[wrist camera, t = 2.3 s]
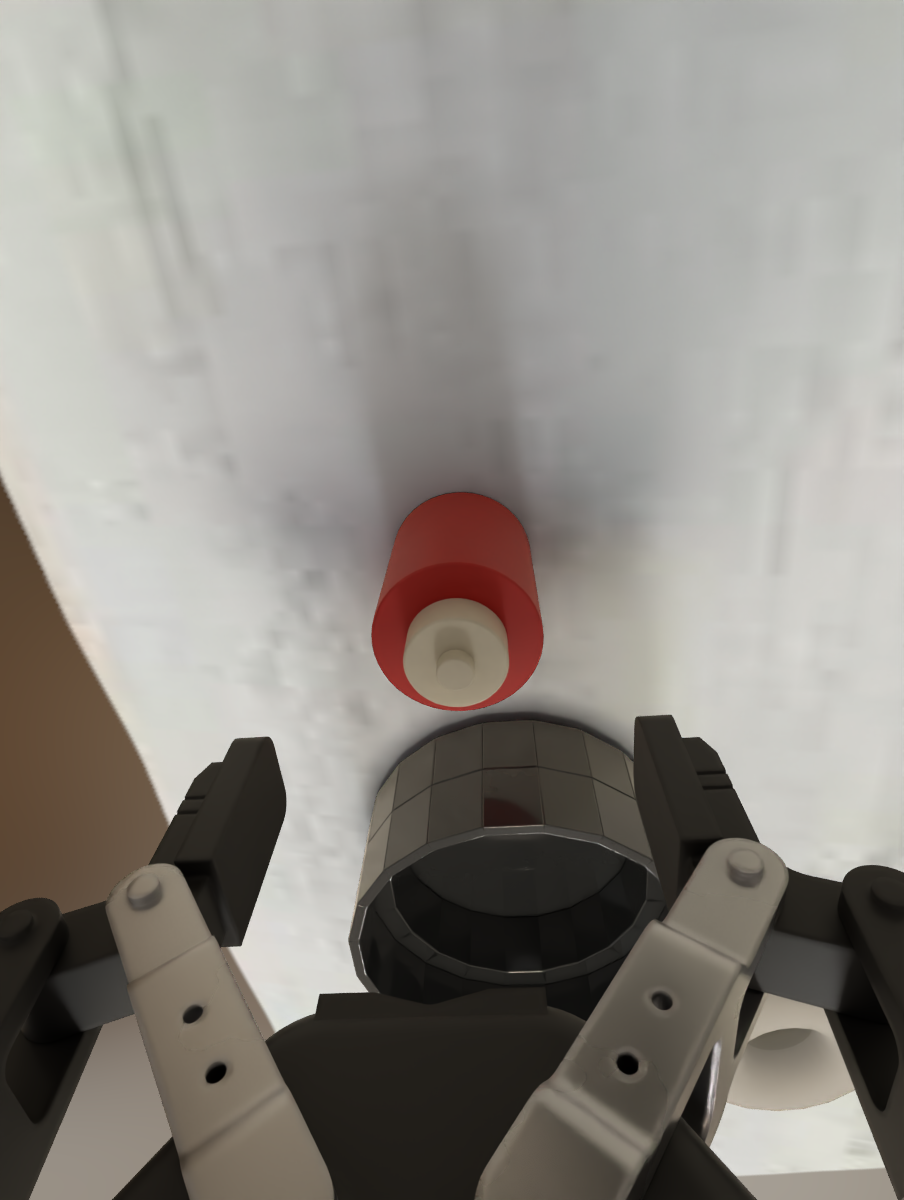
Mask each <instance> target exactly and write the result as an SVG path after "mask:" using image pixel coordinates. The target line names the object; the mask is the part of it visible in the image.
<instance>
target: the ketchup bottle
mask: <svg viewBox="0 0 904 1200" xmlns="http://www.w3.org/2000/svg"><path fill="white" fill-rule="evenodd" d="M371 637H372V646H373V650H374V655H375V657H376V660H377V662H378V664H379V666H380V668H381V670H382V671H383V673H384V674H385V676H386V677H387V678H388V680H389V681H390V682H391V683H392V684H393V685H394V686H395V687H396V688H397V689H398V690H400V691H401V692H402V693H404V694H405V695H407V696H408V697H410V698H411V699H413V700H415V701H417V702H419V703H422V704H424V705H427V706H430V707H433V708H438V709H443V710H451V711H466V710H475V709H480V708H484V707H487V706H490V705H493V704H496V703H498V702H500V701H502V700H504V699H506V698H507V697H509V696H511V695H512V694H514V693H515V692H516V691H517V690H518V689H520V688H521V687H522V686H523V685H524V684H525V683H526V681H527V680H528V679H529V678H530V676H531V675H532V673H533V672H534V670H535V668H536V666H537V665H538V662H539V659H540V657H541V654H542V648H543V638H544V634H543V625H542V619H541V613H540V607H539V601H538V595H537V589H536V583H535V576H534V570H533V564H532V558H531V552H530V546H529V542H528V538H527V535H526V533H525V531H524V528H523V527H522V525H521V523H520V522H519V520H518V519H517V518H516V517H515V516H514V514H513V513H511V512H510V511H509V510H508V509H507V508H506V507H504V506H503V505H502V504H500V503H498V502H497V501H495V500H493V499H491V498H488V497H485V496H483V495H478V494H474V493H466V492H459V493H449V494H444V495H440V496H437V497H434V498H432V499H430V500H428V501H426V502H424V503H422V504H421V505H419V506H418V507H417V508H416V509H414V510H413V511H412V512H411V513H410V514H409V515H408V516H407V518H406V519H405V520H404V522H403V523H402V525H401V527H400V529H399V530H398V533H397V536H396V539H395V542H394V546H393V549H392V553H391V557H390V560H389V564H388V568H387V571H386V575H385V579H384V582H383V586H382V589H381V593H380V597H379V600H378V604H377V608H376V611H375V615H374V619H373V624H372V634H371Z"/></svg>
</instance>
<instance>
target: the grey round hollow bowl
mask: <svg viewBox="0 0 904 1200" xmlns="http://www.w3.org/2000/svg"><path fill="white" fill-rule="evenodd" d="M633 766H634V763H633V762H632V761H631V760H630V759H629V758H628V756H627V755H626V754H625V753H624V752H622V751H621V750H619V749H617V748H615V747H613V746H611V745H609V744H607V743H605V742H604V741H602V740H600V739H598V738H596V737H594V736H592V735H590V734H588V733H586V732H584V731H581V730H580V729H576V728H571V727H566V726H561V725H557V724H552V723H547V722H542V721H537V720H533V721H532V720H521V721H503V722H484V723H483V724H482V723H480V724H476V725H473V726H470V727H467V728H464V729H461V730H458V731H455V732H452V733H449V734H446V735H443V736H439V737H437V739H436V738H435V739H433V740H432V741H430V742H429V743H427V744H426V745H425V746H423V747H422V748H420V749H419V750H417V751H416V752H414V753H413V754H411V755H410V756H409V757H407V758H406V759H404V760H403V761H401V763H399V764H398V766H397V767H396V768H395V770H394V771H393V773H392V774H391V775H390V777H389V778H388V779H387V781H386V782H385V784H384V785H383V786H382V788H381V789H380V790H379V792H378V794H377V796H376V800H375V804H374V808H373V813H372V817H371V821H370V825H369V831H368V836H367V841H366V847H365V852H364V858H363V863H362V868H361V874H360V879H359V884H358V890H357V895H356V901H355V906H354V911H353V917H352V922H351V928H350V933H349V938H348V942H349V946H350V950H351V954H352V958H353V962H354V967H355V971H356V975H357V977H358V978H359V980H360V981H361V982H362V984H363V985H364V986H365V988H366V989H367V990H368V992H375V993H379V994H384V995H388V996H392V997H396V998H401V999H405V1000H409V1001H413V1002H418V1003H422V1004H428V1005H432V1004H437V1003H441V1002H444V1001H448V1000H451V999H455V998H458V997H462V996H465V995H469V994H472V993H476V992H479V991H483V990H486V989H498V988H531V987H545V989H546V1000H547V1006H549V1007H553V1008H557V1009H560V1010H563V1011H566V1012H568V1013H571V1014H573V1015H575V1016H577V1017H579V1018H581V1019H583V1020H585V1021H587V1020H588V1019H589V1017H590V1015H591V1014H592V1012H593V1011H594V1009H595V1007H596V1006H597V1004H598V1003H599V1001H600V999H601V998H602V996H603V995H604V993H605V991H606V990H607V988H608V987H609V985H610V983H611V982H612V980H613V979H614V977H615V975H616V974H617V972H618V971H619V969H620V967H621V966H622V964H623V963H624V961H625V959H626V958H627V956H628V955H629V953H630V951H631V950H632V948H633V947H634V945H635V943H636V942H637V940H638V939H639V937H640V935H641V934H642V932H643V931H644V929H645V928H646V926H647V925H648V924H649V923H650V922H651V921H652V920H654V919H656V920H658V921H660V922H663V921H664V919H665V918H666V916H667V915H668V913H669V912H668V908H667V905H666V901H665V898H664V894H663V891H662V887H661V884H660V881H659V877H658V874H657V870H656V867H655V863H654V860H653V856H652V853H651V849H650V846H649V842H648V839H647V835H646V832H645V828H644V825H643V822H642V818H641V815H640V811H639V808H638V804H637V800H636V795H635V789H634V778H633Z"/></svg>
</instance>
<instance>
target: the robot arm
mask: <svg viewBox="0 0 904 1200" xmlns="http://www.w3.org/2000/svg"><path fill="white" fill-rule="evenodd" d="M633 778H634V789H635V795H636V800H637V804H638V808H639V811H640V815H641V818H642V822H643V825H644V828H645V832H646V835H647V839H648V842H649V846H650V849H651V853H652V856H653V860H654V863H655V867H656V870H657V874H658V877H659V881H660V884H661V887H662V891H663V894H664V898H665V901H666V905H667V908H668V912H669V913H668V915H667V916H666V918H665V919H664V921H663V922H660V921H658V920H656V919H654V920H652V921H651V922H650V923H649V924H648V925H647V926H646V928H645V929H644V931H643V932H642V934H641V935H640V937H639V939H638V940H637V942H636V943H635V945H634V947H633V948H632V950H631V951H630V953H629V955H628V956H627V958H626V959H625V961H624V963H623V964H622V966H621V967H620V969H619V971H618V972H617V974H616V975H615V977H614V979H613V980H612V982H611V983H610V985H609V987H608V988H607V990H606V991H605V993H604V995H603V996H602V998H601V999H600V1001H599V1003H598V1004H597V1006H596V1007H595V1009H594V1011H593V1012H592V1014H591V1015H590V1017H589V1019H588V1020H587V1021H585V1020H583V1019H581V1018H579V1017H577V1016H575V1015H573V1014H571V1013H568V1012H566V1011H563V1010H560V1009H557V1008H553V1007H549V1006H547V1000H546V989H545V987H531V988H498V989H486V990H483V991H479V992H476V993H472V994H469V995H465V996H462V997H458V998H455V999H451V1000H448V1001H444V1002H441V1003H437V1004H432V1005H428V1004H422V1003H418V1002H413V1001H409V1000H405V999H401V998H396V997H392V996H388V995H384V994H379V993H375V992H367V993H334V994H320V995H319V999H318V1004H317V1009H316V1014H313V1015H309V1016H307V1017H304V1018H302V1019H300V1020H297V1021H295V1022H293V1023H291V1024H289V1025H288V1026H286V1027H284V1028H282V1029H281V1030H279V1031H278V1032H276V1033H275V1034H273V1035H272V1036H271V1037H269V1038H268V1039H267V1040H266V1041H264V1039H263V1037H262V1034H261V1032H260V1030H259V1028H258V1026H257V1024H256V1022H255V1020H254V1018H253V1016H252V1013H251V1011H250V1009H249V1007H248V1005H247V1003H246V1001H245V999H244V997H243V995H242V993H241V990H240V988H239V986H238V984H237V982H236V980H235V978H234V976H233V974H232V972H231V969H230V967H229V965H228V963H227V961H226V959H225V957H224V955H223V953H222V951H221V947H233V946H241V945H242V942H243V939H244V936H245V933H246V930H247V927H248V924H249V921H250V918H251V916H252V913H253V910H254V907H255V904H256V901H257V898H258V895H259V892H260V889H261V886H262V883H263V880H264V877H265V874H266V871H267V868H268V865H269V862H270V859H271V856H272V854H273V851H274V848H275V845H276V842H277V839H278V836H279V833H280V830H281V827H282V824H283V821H284V818H285V813H286V791H285V786H284V783H283V779H282V775H281V771H280V767H279V763H278V759H277V755H276V751H275V748H274V744H273V741H272V739H271V738H270V737H254V738H237V739H235V740H234V741H233V742H232V744H231V746H230V748H229V750H228V752H227V754H226V756H225V758H224V760H223V762H215V763H211V764H210V765H209V766H208V767H207V768H206V769H205V770H203V771H202V772H201V773H200V774H199V775H198V776H197V777H196V778H195V779H194V781H193V782H192V784H191V786H190V788H189V790H188V792H187V794H186V796H185V800H183V801H182V803H181V805H180V807H179V809H178V811H177V815H175V816H174V818H173V820H172V822H171V824H170V826H169V827H168V829H167V831H166V833H165V835H164V837H163V839H162V841H161V842H160V844H159V846H158V848H157V850H156V852H155V854H154V856H153V857H152V859H151V861H150V863H149V865H148V866H145V867H142V868H140V869H138V870H136V871H134V872H132V873H130V874H129V875H127V876H126V877H124V878H123V879H122V880H121V881H120V882H119V883H118V884H117V885H116V886H115V887H114V888H113V890H112V891H111V893H110V894H109V896H108V898H107V900H106V901H103V902H101V903H98V904H94V905H91V906H88V907H84V908H81V909H78V910H75V911H72V912H68V913H65V914H62V913H61V911H60V909H59V907H58V906H57V904H56V903H55V902H54V901H52V900H50V899H47V898H33V899H28V900H25V901H22V902H19V903H16V904H14V905H12V906H10V907H8V908H7V909H5V910H3V911H2V912H0V1200H29V1198H30V1196H31V1193H32V1191H33V1188H34V1186H35V1184H36V1182H37V1179H38V1177H39V1174H40V1172H41V1169H42V1167H43V1165H44V1163H45V1160H46V1158H47V1155H48V1153H49V1151H50V1148H51V1146H52V1144H53V1141H54V1139H55V1137H56V1134H57V1132H58V1130H59V1127H60V1125H61V1123H62V1120H63V1118H64V1115H65V1113H66V1111H67V1108H68V1106H69V1103H70V1101H71V1099H72V1097H73V1094H74V1092H75V1089H76V1087H77V1085H78V1082H79V1080H80V1077H81V1075H82V1073H83V1071H84V1068H85V1066H86V1063H87V1061H88V1059H89V1056H90V1054H91V1052H92V1049H93V1047H94V1045H95V1042H96V1040H97V1037H98V1035H99V1033H100V1030H101V1028H102V1026H103V1024H106V1023H109V1022H112V1021H115V1020H118V1019H121V1018H124V1017H127V1016H130V1015H133V1014H135V1017H136V1020H137V1023H138V1026H139V1030H140V1033H141V1036H142V1039H143V1043H144V1046H145V1049H146V1052H147V1055H148V1059H149V1062H150V1065H151V1068H152V1072H153V1075H154V1078H155V1081H156V1084H157V1088H158V1091H159V1094H160V1097H161V1100H162V1104H163V1107H164V1110H165V1113H166V1117H167V1120H168V1123H169V1126H170V1129H171V1132H172V1137H171V1138H170V1140H169V1141H168V1142H167V1143H166V1144H165V1145H164V1146H163V1147H162V1148H161V1149H160V1150H159V1151H158V1152H157V1153H156V1154H155V1155H154V1156H153V1158H151V1160H150V1161H149V1162H148V1163H147V1164H146V1165H145V1166H144V1167H143V1168H142V1169H141V1170H140V1171H139V1172H138V1173H137V1174H136V1175H135V1176H134V1177H133V1178H132V1180H130V1182H129V1183H128V1184H127V1185H126V1186H125V1187H124V1188H123V1189H122V1190H121V1191H120V1192H119V1193H118V1194H117V1195H116V1196H115V1197H114V1199H112V1200H757V1199H756V1198H755V1197H754V1196H753V1195H752V1194H751V1193H750V1192H749V1191H748V1190H747V1188H746V1187H745V1186H744V1185H743V1184H742V1183H741V1182H740V1181H739V1180H738V1179H737V1177H736V1176H735V1175H734V1174H733V1173H732V1172H731V1171H730V1170H729V1169H728V1167H727V1166H726V1165H725V1164H724V1163H723V1162H722V1161H721V1160H720V1159H719V1158H718V1157H717V1155H716V1154H715V1153H714V1152H713V1151H712V1150H711V1149H710V1148H709V1147H710V1145H711V1143H712V1140H713V1138H714V1135H715V1133H716V1131H717V1128H718V1125H719V1123H720V1120H721V1117H722V1114H723V1111H724V1108H725V1105H726V1102H727V1098H728V1094H729V1090H730V1087H731V1084H732V1081H733V1078H734V1075H735V1072H736V1070H737V1067H738V1065H739V1063H740V1060H741V1058H742V1055H743V1053H744V1051H745V1048H746V1046H747V1044H748V1041H749V1039H750V1036H751V1034H752V1032H753V1029H754V1027H755V1025H756V1022H757V1020H758V1018H759V1015H760V1013H761V1010H762V1008H763V1006H764V1003H765V1001H766V999H767V996H768V994H772V995H776V996H780V997H783V998H787V999H791V1000H794V1001H798V1002H802V1003H805V1004H809V1005H813V1006H816V1007H820V1008H823V1009H824V1011H825V1014H826V1016H827V1019H828V1022H829V1024H830V1027H831V1029H832V1032H833V1034H834V1037H835V1039H836V1042H837V1045H838V1047H839V1050H840V1052H841V1055H842V1057H843V1060H844V1063H845V1065H846V1068H847V1070H848V1073H849V1075H850V1078H851V1081H852V1083H853V1086H854V1088H855V1091H856V1093H857V1096H858V1099H859V1101H860V1104H861V1106H862V1109H863V1111H864V1114H865V1116H866V1119H867V1122H868V1124H869V1127H870V1129H871V1132H872V1134H873V1137H874V1140H875V1142H876V1145H877V1147H878V1150H879V1152H880V1155H881V1158H882V1160H883V1163H884V1165H885V1168H886V1170H887V1173H888V1176H889V1178H890V1181H891V1183H892V1186H893V1188H894V1191H895V1193H896V1196H897V1199H898V1200H904V873H903V872H901V871H898V870H896V869H893V868H889V867H884V866H878V865H865V866H860V867H857V868H854V869H852V870H851V871H849V872H848V873H847V874H846V876H845V877H844V880H843V883H842V882H837V881H832V880H828V879H823V878H818V877H813V876H809V875H805V874H802V873H799V872H796V871H794V870H791V869H789V868H787V867H786V865H785V863H784V862H783V860H782V859H781V858H780V857H779V856H778V855H777V854H776V853H775V852H774V851H772V850H771V849H770V848H768V847H766V846H765V845H762V844H761V843H760V842H759V840H758V837H757V835H756V833H755V831H754V829H753V827H752V825H751V823H750V821H749V819H748V816H747V814H746V812H745V810H744V808H743V806H742V804H741V802H740V800H739V798H738V795H737V793H736V791H735V789H733V785H732V783H731V781H730V779H729V776H728V774H726V770H725V768H724V766H723V764H722V762H721V760H720V758H719V755H718V753H717V752H716V751H715V750H714V749H713V748H711V747H710V746H709V745H708V744H707V743H706V742H705V741H703V740H702V739H701V738H700V737H692V738H682V737H681V735H680V733H679V730H678V728H677V725H676V723H675V721H674V718H673V717H672V715H658V716H640V717H636V719H635V728H634V766H633Z"/></svg>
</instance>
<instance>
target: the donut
mask: <svg viewBox="0 0 904 1200" xmlns="http://www.w3.org/2000/svg"><path fill="white" fill-rule="evenodd" d="M854 1090H855V1088H854V1086H853V1083H852V1081H851V1078H850V1075H849V1073H848V1070H847V1068H846V1065H845V1063H844V1060H843V1057H842V1055H841V1052H840V1050H839V1047H838V1045H837V1042H836V1039H835V1037H834V1034H833V1032H832V1029H831V1027H830V1024H829V1022H828V1019H827V1016H826V1014H825V1011H824V1009H823V1008H820V1007H816V1006H813V1005H809V1004H805V1003H802V1002H798V1001H794V1000H791V999H787V998H783V997H780V996H776V995H772V994H768V996H767V999H766V1001H765V1003H764V1006H763V1008H762V1010H761V1013H760V1015H759V1018H758V1020H757V1022H756V1025H755V1027H754V1029H753V1032H752V1034H751V1036H750V1039H749V1041H748V1044H747V1046H746V1048H745V1051H744V1053H743V1055H742V1058H741V1060H740V1063H739V1065H738V1067H737V1070H736V1072H735V1075H734V1078H733V1081H732V1084H731V1087H730V1090H729V1094H728V1098H727V1103H730V1104H734V1105H737V1106H741V1107H744V1108H748V1109H759V1110H771V1111H783V1110H795V1109H805V1108H809V1107H812V1106H816V1105H820V1104H824V1103H828V1102H831V1101H833V1100H835V1099H837V1098H839V1097H841V1096H844V1095H846V1094H848V1093H850V1092H852V1091H854Z"/></svg>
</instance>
